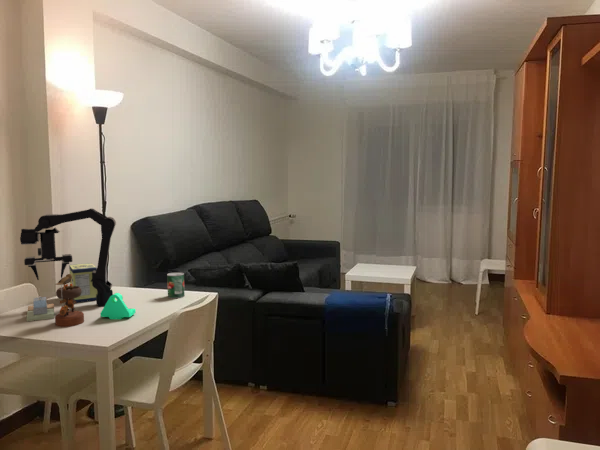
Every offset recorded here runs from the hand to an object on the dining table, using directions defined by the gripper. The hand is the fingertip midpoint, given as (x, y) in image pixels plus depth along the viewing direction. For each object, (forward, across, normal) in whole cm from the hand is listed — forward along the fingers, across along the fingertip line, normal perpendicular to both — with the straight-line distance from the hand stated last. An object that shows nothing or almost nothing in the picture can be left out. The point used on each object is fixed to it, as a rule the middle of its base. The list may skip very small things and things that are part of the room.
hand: (49, 279), depth 229 cm
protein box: (+13, -14, -13) cm, 23 cm away
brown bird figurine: (+13, -7, +28) cm, 31 cm away
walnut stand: (+13, +4, +4) cm, 14 cm away
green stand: (+13, +4, +14) cm, 19 cm away
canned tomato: (+13, -54, +3) cm, 56 cm away
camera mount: (+13, -25, +28) cm, 40 cm away
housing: (+11, +4, +14) cm, 18 cm away
